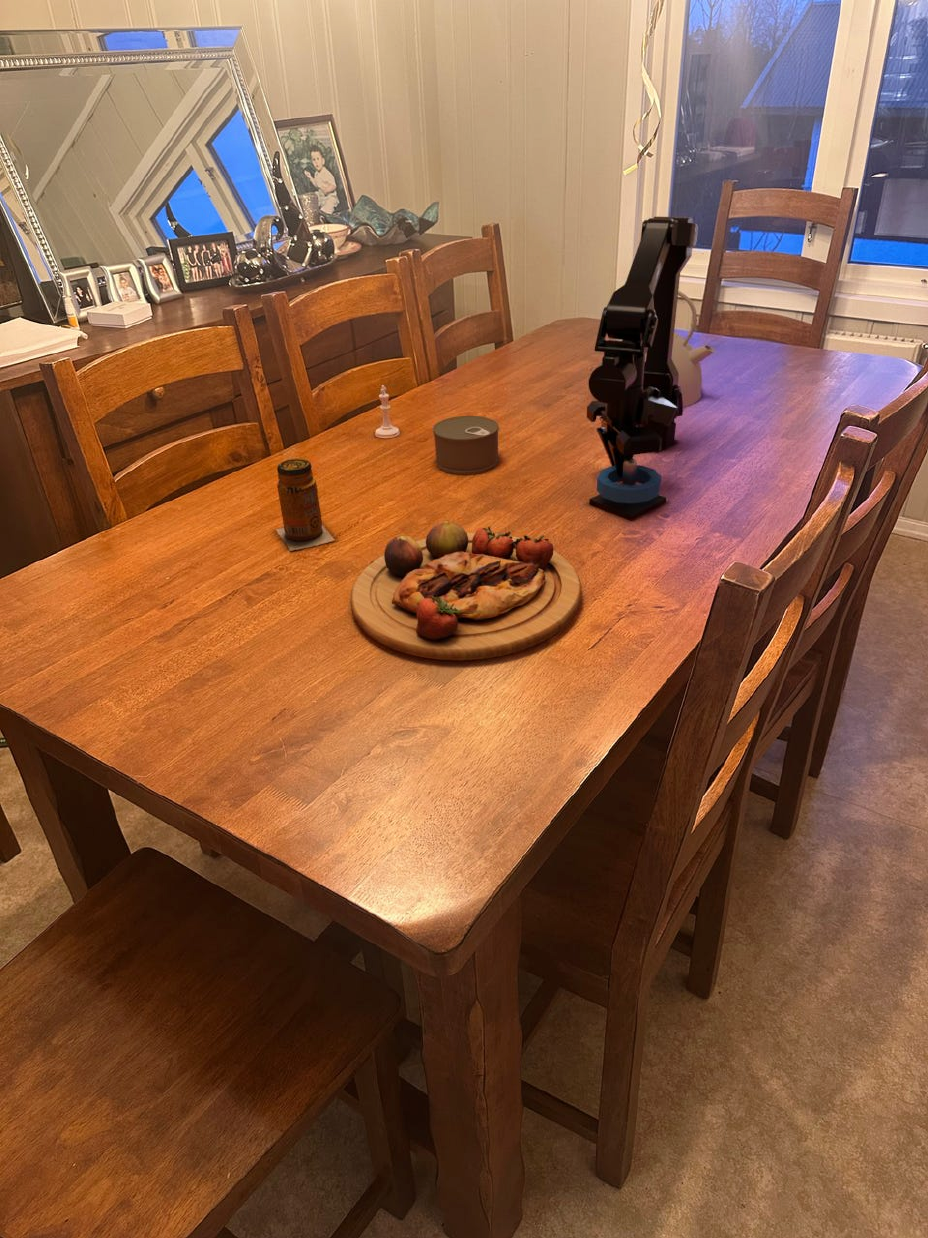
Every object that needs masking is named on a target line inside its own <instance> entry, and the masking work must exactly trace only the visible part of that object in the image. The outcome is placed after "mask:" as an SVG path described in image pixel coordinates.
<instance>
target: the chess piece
mask: <svg viewBox="0 0 928 1238" xmlns="http://www.w3.org/2000/svg"><path fill="white" fill-rule="evenodd" d="M379 391H380V394H379V395H378V398H379V401H380V403H381V405H380V406H379V409H380V410H382V424H381V426H380V427H378V428H377V429H375V431H374V432H375V437H377V438H379V439H392V438H393V439H394V438H395V437H397V436H399V435H400V433H401V431H400V429H399V428H398V427H396V426H393V424H391V420H390V415H389V411H388V410H389V409H391V405H390V404H388V403H389V398H390V395H389V394H388V393H386V391H387V387H386V386H385V384H382V385H381V389H379Z"/></svg>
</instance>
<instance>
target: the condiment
mask: <svg viewBox="0 0 928 1238" xmlns="http://www.w3.org/2000/svg"><path fill="white" fill-rule="evenodd" d="M312 468H313V467H312V464H311V462H310V460H307V459H304V458H290V459H286V460H284V461H281V462H280V463H279V464H278V465H277V467H276V471H277V478H278V481H277V484H276V487H277V492H278V498H279V499H278V500H279V504H280V510H281V511H280V512H281V516H282V523H283V527H282V528H277V529H275V531H276V533H277V534H278V536H279V537H280V539H281V540H282V541H283V542H284V544H285V545H286V547H287V548H288V550H289V551H291V552H292V551H295V550H296V551H299V550H302V549H308V548H311V547H315V546H316V547H318V546H320V545H323V544H328V543H330V542H334V541H336V540H335V538H334V537H333V536H332V535H331V534H330V532H329V531H328V530H327V529H326V527H325V526H324V525H323V521H322V512H321V511H322V510H321V507H320V501H319V494H318V493H319V491H318V485H317V481H316V480H317V479H316V478H315V476H314V474H313V470H312Z"/></svg>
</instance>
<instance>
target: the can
mask: <svg viewBox="0 0 928 1238" xmlns="http://www.w3.org/2000/svg"><path fill="white" fill-rule="evenodd" d="M499 429H500V425H499V423H498V422H497V421H496V420H494V419H492V418H489V417H485V416H479V415H460V416H453V417H449V418H445V419H442V420H440V421H438V422H437V423H435V424H434V425H433V427H432V432H433V436H434V437H433V438H434V448H435V450H434V451H435V460H436V461H435V462H436V463H435V464H436V467H437V468H438V469H439V470H441V471H442V472H445V473H447V474H453V475H462V476H463V475H466V476H467V475H477V474H482V473H486V472H489V471H490V470H493V469H494V468H495V467H497V465H498V464H499Z"/></svg>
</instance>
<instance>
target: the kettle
mask: <svg viewBox="0 0 928 1238" xmlns="http://www.w3.org/2000/svg"><path fill="white" fill-rule="evenodd" d="M678 297H680V298H682V299H683V300H684V301H685V302H686V303H687V305H689V307H690V310H691V314H692V323H691V327H690V330H689V332H688V334H687V336H686V338H684V337H683V336H682V335H681V334H679V333H678V332H676V331H675V330H674V339H673V348H672V361H673V363H674V365H675V367H676V369H677V371H678V373H679V379H678V385H680V387H681V392H682V395H683V408H685V407H688V406H691V405H693V404H695V403H697V402H698V401H699V400H700V399H701V397H702V383H703V373H702V366H701V362H702V361H704V360H705V359H707V358H708V357H709V356H710V355H712V354H714V353H715V349H714V348H713V347H711V346H710V345H708V344H704V345H702V346H699V347H696V348H694V347H693V346H692V345H691V343H689V342H690V340H691V339H692V337H693V335H694V333H695V330H696V327H697V322H698V316H697V310H696V307H695V304H694V302H693V301H692V299H691V298H690V297H689V296H688V295H686V294H685V293H683V292H682V291H681V290H678ZM615 341H622V340H621V339H615ZM646 353H647V352H646ZM646 353H645V361H646ZM601 363H602V360H601V361H600V363H599V365H600V364H601Z"/></svg>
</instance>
